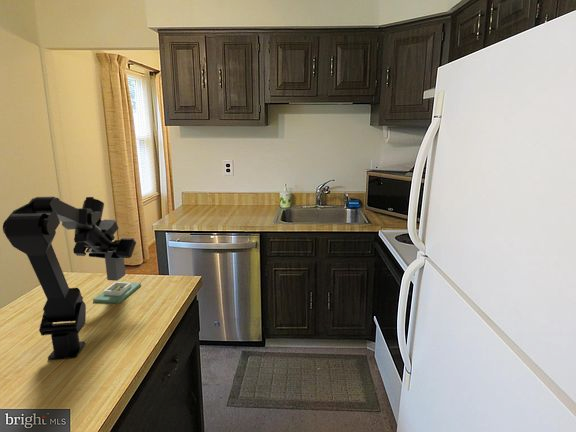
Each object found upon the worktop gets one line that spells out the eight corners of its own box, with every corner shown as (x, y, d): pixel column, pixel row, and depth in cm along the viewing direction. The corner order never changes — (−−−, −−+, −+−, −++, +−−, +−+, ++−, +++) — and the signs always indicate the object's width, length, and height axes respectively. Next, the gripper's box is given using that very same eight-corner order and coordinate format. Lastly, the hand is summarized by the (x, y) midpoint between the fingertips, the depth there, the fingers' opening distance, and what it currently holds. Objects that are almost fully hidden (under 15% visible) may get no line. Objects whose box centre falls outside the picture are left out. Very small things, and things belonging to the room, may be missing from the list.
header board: (119, 303, 116) (118, 296, 115) (93, 301, 116) (92, 294, 116) (140, 285, 129) (140, 279, 128) (117, 284, 130) (116, 277, 129)
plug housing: (117, 280, 119) (113, 246, 116) (107, 280, 119) (103, 246, 116) (125, 274, 124) (122, 242, 121) (115, 274, 124) (112, 241, 121)
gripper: (130, 214, 111) (149, 238, 124) (74, 212, 113) (99, 236, 126) (118, 246, 105) (140, 267, 119) (60, 243, 107) (87, 265, 120)
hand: (116, 258), depth 121 cm, fingers closed on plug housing, 3 cm apart
